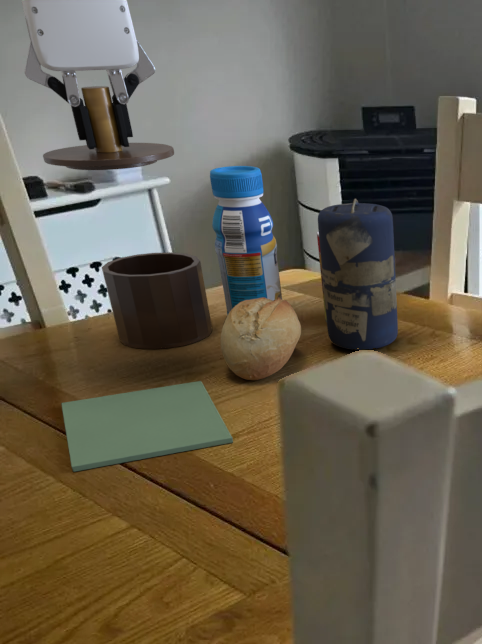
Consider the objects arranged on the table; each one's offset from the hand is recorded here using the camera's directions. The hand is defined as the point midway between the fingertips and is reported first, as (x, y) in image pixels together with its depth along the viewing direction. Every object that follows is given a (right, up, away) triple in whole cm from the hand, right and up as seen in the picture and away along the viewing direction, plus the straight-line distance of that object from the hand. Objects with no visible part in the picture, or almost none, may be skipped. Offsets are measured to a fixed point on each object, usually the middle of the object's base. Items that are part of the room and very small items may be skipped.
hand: (107, 144), depth 91 cm
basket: (-3, -12, +26) cm, 29 cm away
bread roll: (+14, -20, +16) cm, 29 cm away
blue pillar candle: (+26, -15, +22) cm, 37 cm away
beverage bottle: (+9, -9, +30) cm, 33 cm away
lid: (0, -1, +1) cm, 1 cm away
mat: (+4, -31, +1) cm, 31 cm away
